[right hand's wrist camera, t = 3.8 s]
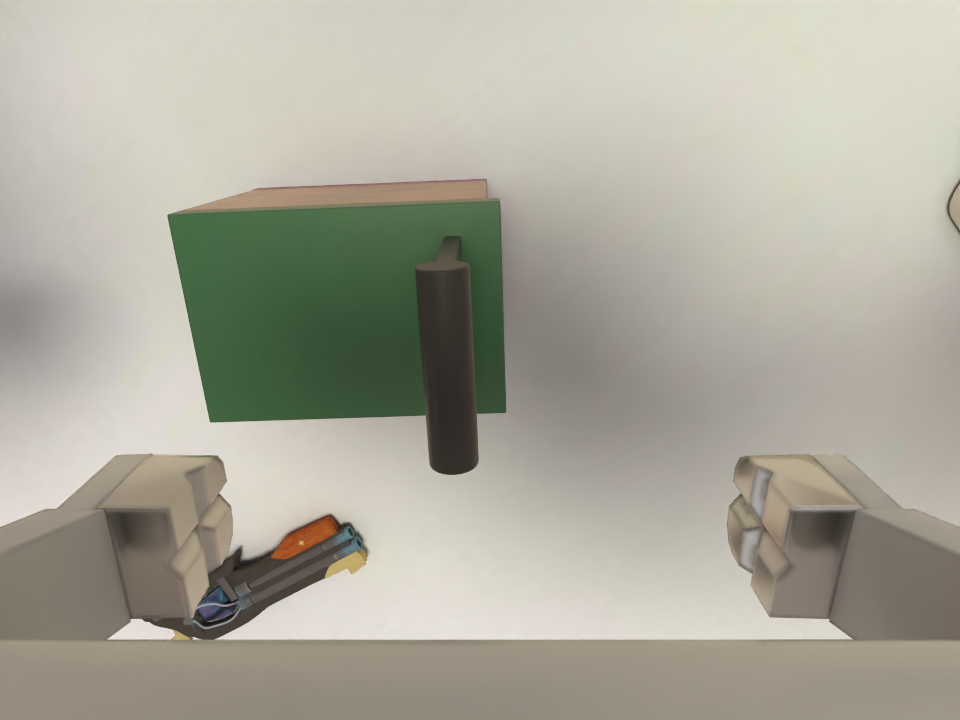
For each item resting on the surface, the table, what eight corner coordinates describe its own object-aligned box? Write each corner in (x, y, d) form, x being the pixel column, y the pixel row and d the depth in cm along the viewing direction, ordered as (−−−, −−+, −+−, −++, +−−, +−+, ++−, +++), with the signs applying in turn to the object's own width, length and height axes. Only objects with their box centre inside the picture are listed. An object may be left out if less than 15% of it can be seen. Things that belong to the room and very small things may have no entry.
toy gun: (56, 577, 44) (141, 687, 46) (289, 451, 42) (368, 572, 44) (81, 556, 46) (160, 661, 48) (301, 437, 44) (375, 551, 46)
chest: (486, 178, 37) (486, 198, 27) (492, 336, 40) (493, 402, 31) (258, 188, 37) (179, 210, 28) (282, 343, 41) (219, 411, 31)
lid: (499, 198, 27) (505, 229, 19) (505, 402, 31) (512, 503, 22) (179, 210, 28) (51, 246, 19) (219, 411, 31) (124, 514, 23)
